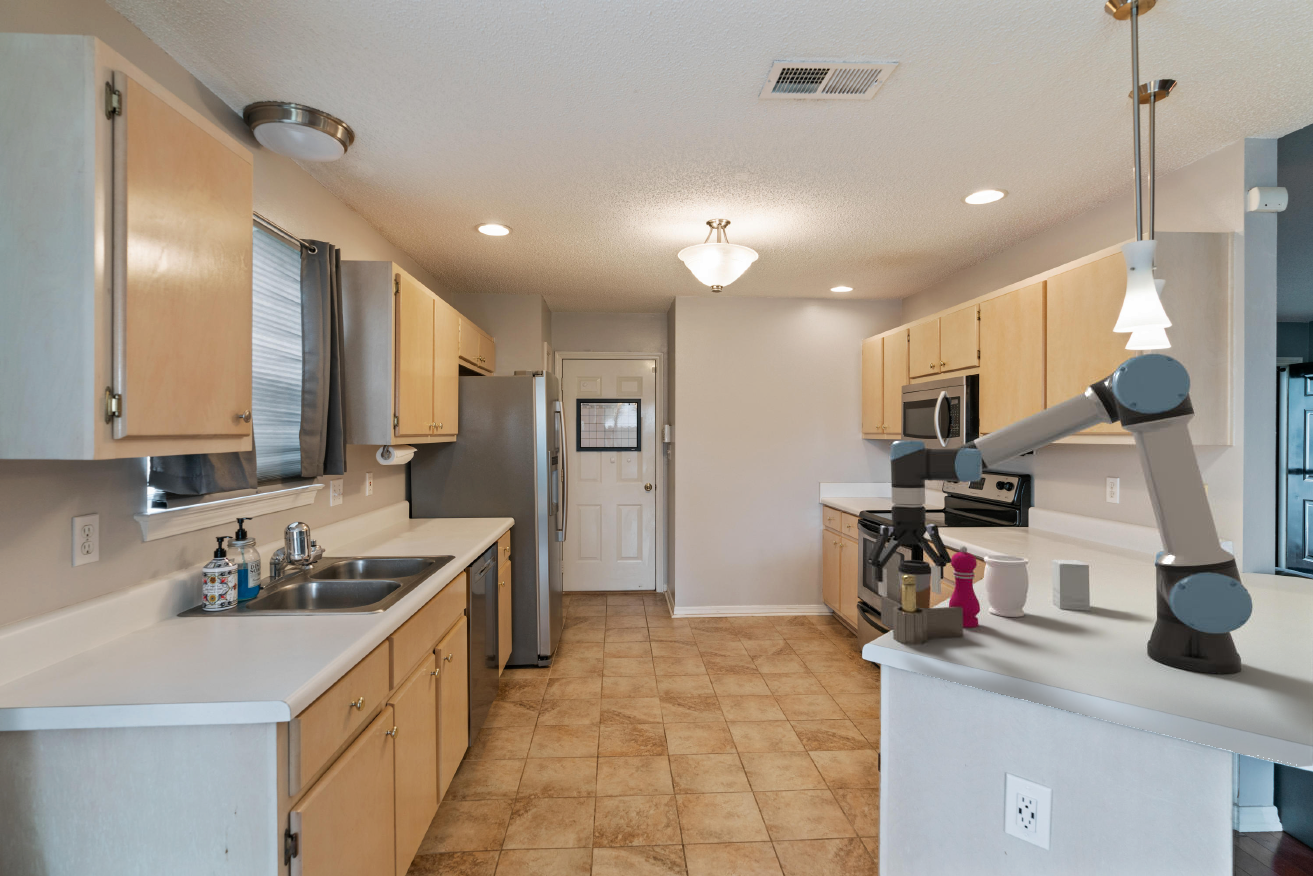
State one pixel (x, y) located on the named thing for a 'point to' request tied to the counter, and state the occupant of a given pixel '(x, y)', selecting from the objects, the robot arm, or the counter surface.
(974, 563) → the pepper mill
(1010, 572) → the jar
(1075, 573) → the supplement box
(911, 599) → the gold metal bar
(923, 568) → the coffee cup
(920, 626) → the hinge
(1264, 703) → the counter surface
